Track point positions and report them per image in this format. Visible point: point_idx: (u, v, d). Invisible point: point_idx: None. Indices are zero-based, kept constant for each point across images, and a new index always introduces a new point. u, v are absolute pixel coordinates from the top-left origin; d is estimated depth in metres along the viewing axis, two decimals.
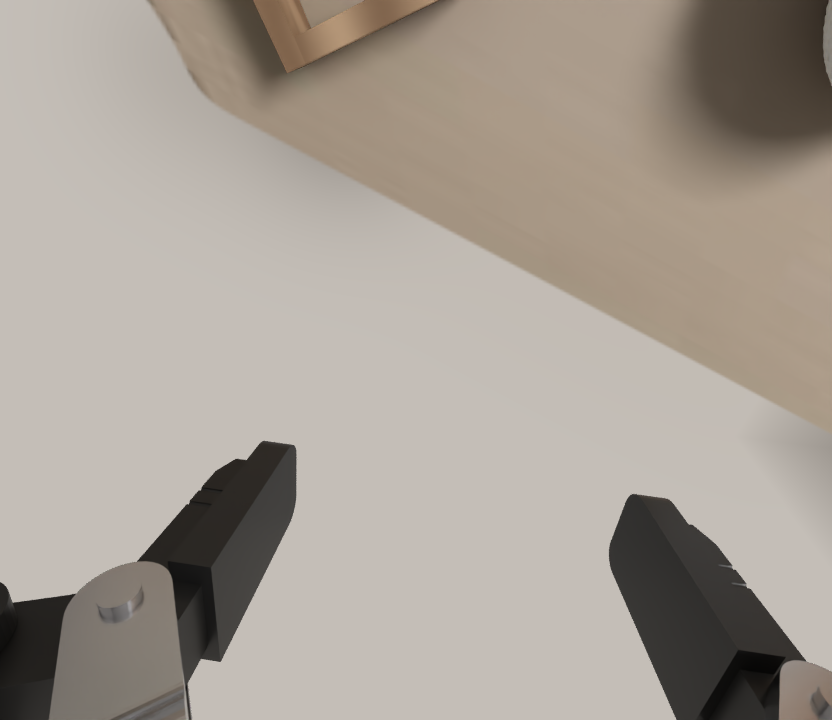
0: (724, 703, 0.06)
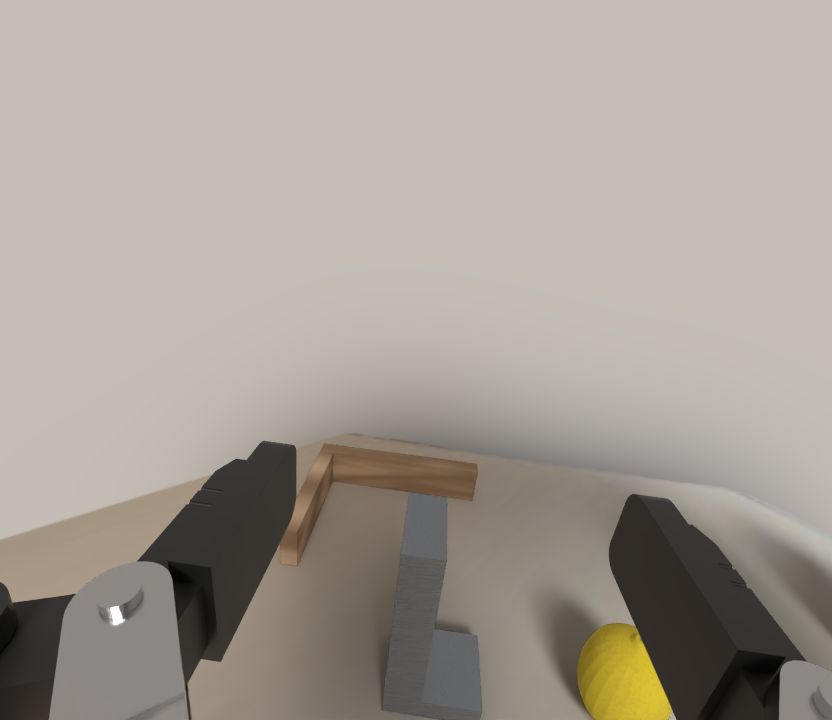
0: (724, 703, 0.06)
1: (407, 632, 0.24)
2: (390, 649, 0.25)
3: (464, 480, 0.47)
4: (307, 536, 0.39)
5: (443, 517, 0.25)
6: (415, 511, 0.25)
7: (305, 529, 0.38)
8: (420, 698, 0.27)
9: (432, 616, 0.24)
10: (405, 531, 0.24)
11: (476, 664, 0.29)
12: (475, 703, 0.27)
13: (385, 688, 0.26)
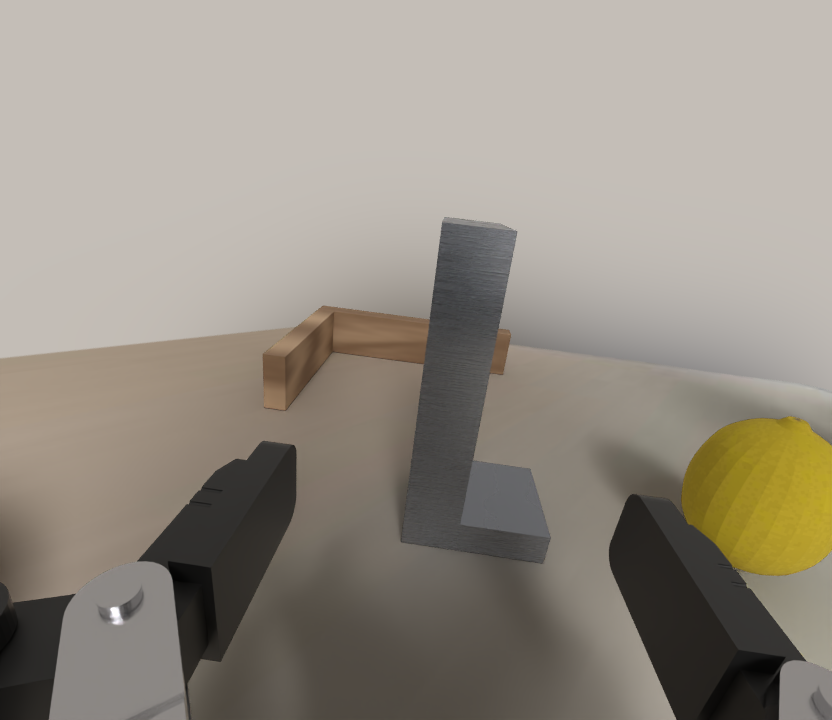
0: (724, 703, 0.06)
1: (446, 389, 0.16)
2: (418, 425, 0.16)
3: None
4: (299, 385, 0.31)
5: (501, 225, 0.16)
6: None
7: (297, 370, 0.30)
8: (459, 517, 0.18)
9: (486, 354, 0.15)
10: (445, 220, 0.15)
11: (534, 494, 0.21)
12: (539, 529, 0.18)
13: (408, 501, 0.18)
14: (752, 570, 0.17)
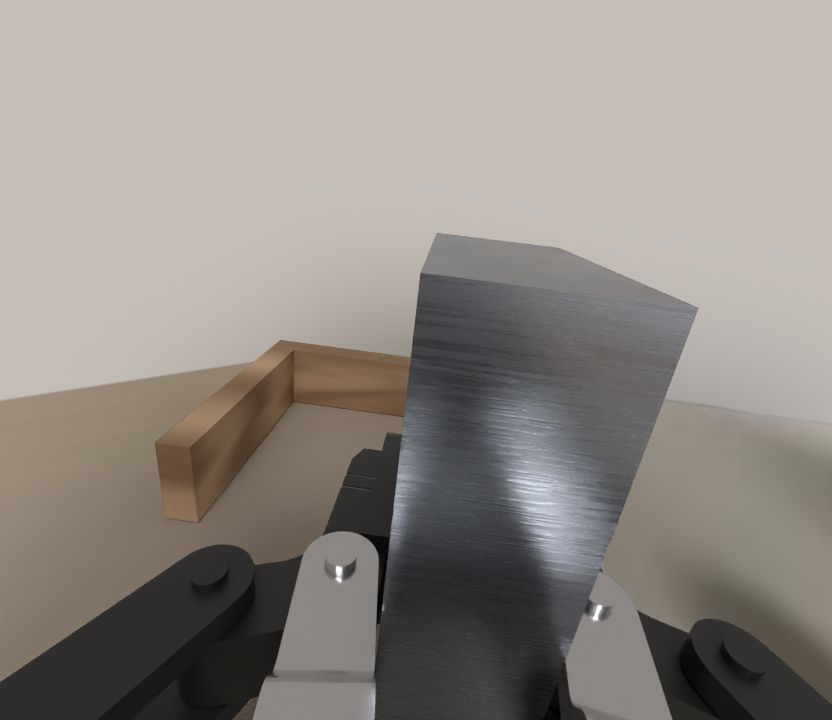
0: None
1: (440, 699, 0.06)
2: None
3: None
4: (229, 471, 0.21)
5: (576, 258, 0.07)
6: (467, 244, 0.07)
7: (221, 454, 0.20)
8: None
9: (553, 636, 0.05)
10: (436, 252, 0.05)
11: None
12: None
13: None
14: None
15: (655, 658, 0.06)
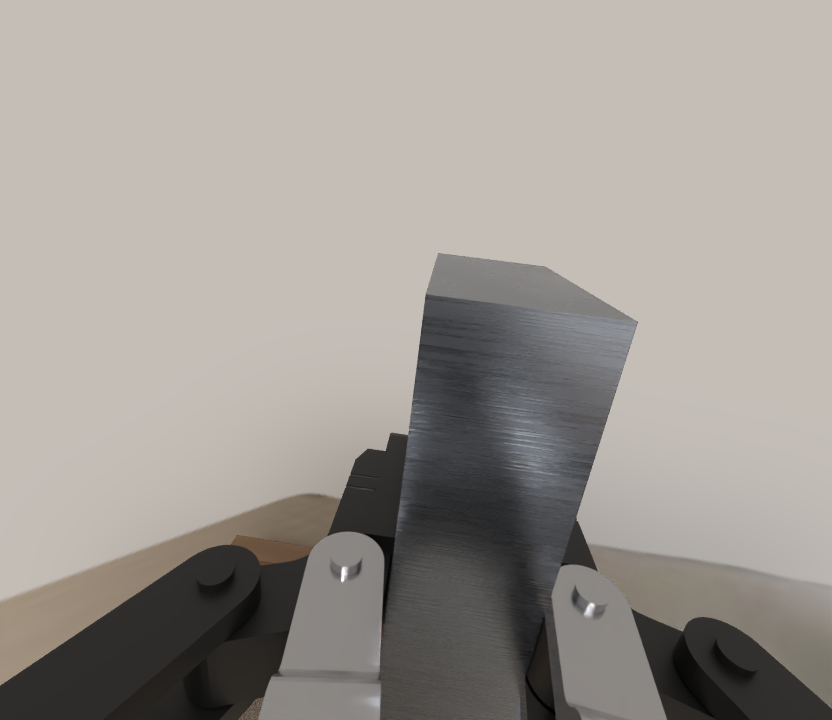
0: None
1: (440, 652, 0.07)
2: None
3: None
4: None
5: (556, 278, 0.08)
6: (464, 264, 0.08)
7: None
8: None
9: (534, 594, 0.06)
10: (437, 274, 0.06)
11: None
12: None
13: None
14: None
15: (649, 656, 0.06)
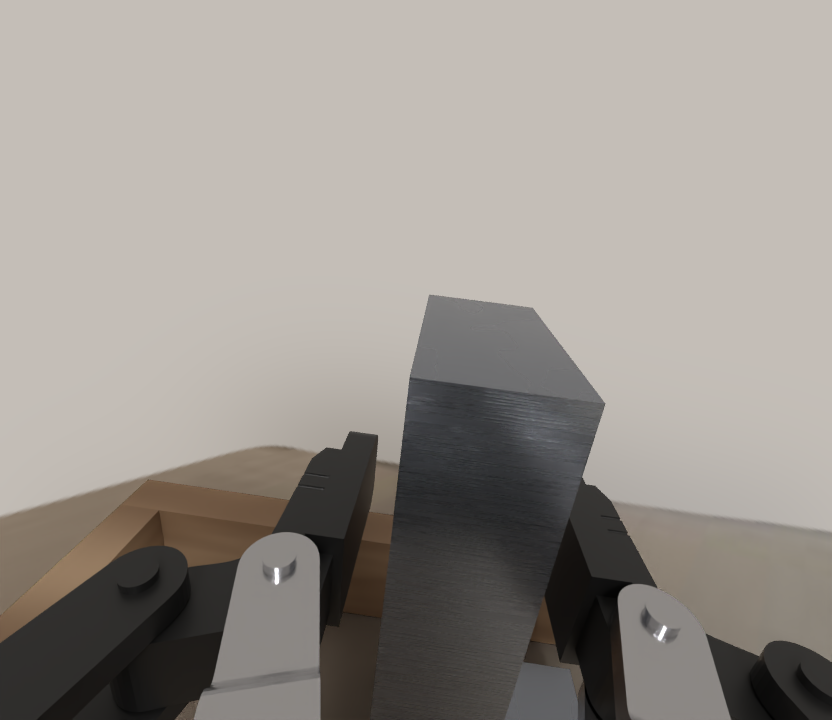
0: (586, 626, 0.07)
1: (428, 685, 0.07)
2: None
3: None
4: None
5: (540, 329, 0.08)
6: (452, 315, 0.08)
7: None
8: None
9: (514, 635, 0.07)
10: (424, 338, 0.07)
11: None
12: None
13: None
14: None
15: (725, 682, 0.06)
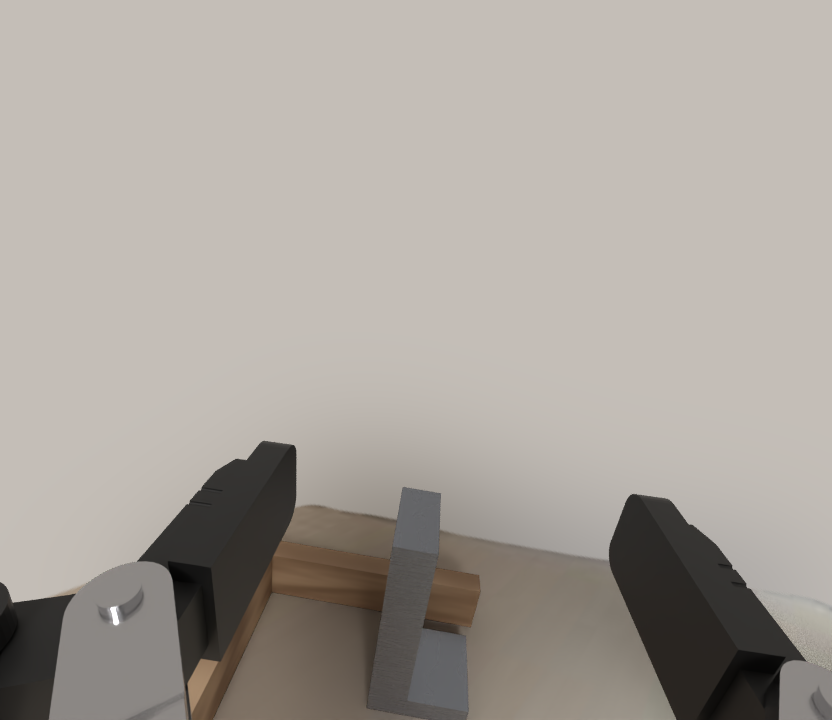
0: (724, 703, 0.06)
1: (396, 627, 0.24)
2: (378, 645, 0.25)
3: (460, 601, 0.32)
4: (210, 717, 0.25)
5: (437, 512, 0.25)
6: (408, 505, 0.25)
7: (203, 713, 0.24)
8: (406, 696, 0.26)
9: (421, 611, 0.23)
10: (397, 524, 0.23)
11: (464, 664, 0.29)
12: (462, 703, 0.27)
13: (371, 685, 0.26)
14: None
15: None
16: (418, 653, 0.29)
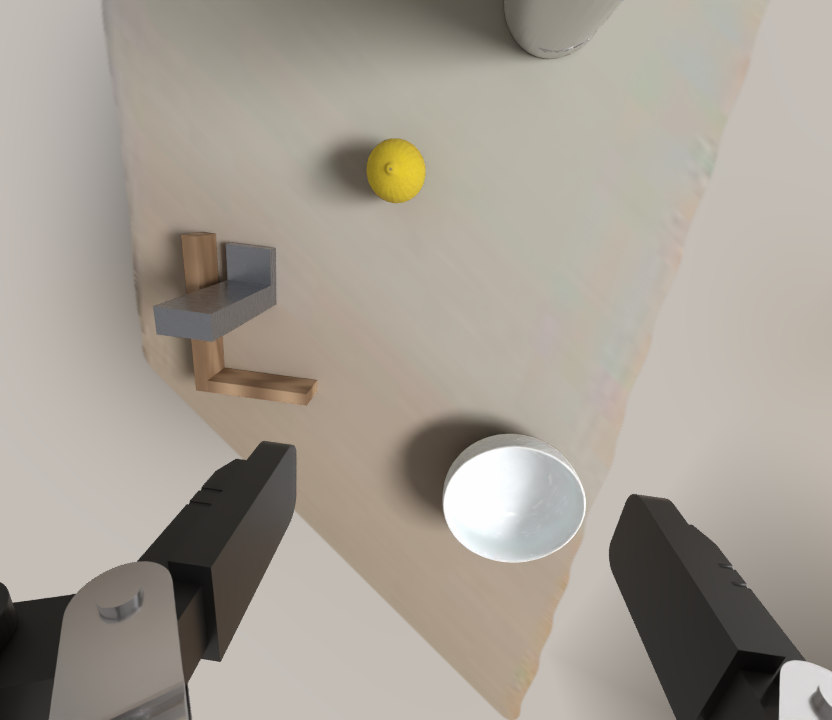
0: (724, 703, 0.06)
1: (244, 313, 0.41)
2: (252, 317, 0.43)
3: (203, 247, 0.44)
4: (293, 379, 0.51)
5: (174, 311, 0.35)
6: (174, 330, 0.35)
7: (293, 384, 0.50)
8: (269, 287, 0.46)
9: (236, 304, 0.39)
10: (194, 338, 0.36)
11: (244, 248, 0.45)
12: (266, 252, 0.45)
13: (268, 308, 0.46)
14: None
15: None
16: (244, 277, 0.46)
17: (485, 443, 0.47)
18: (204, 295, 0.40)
